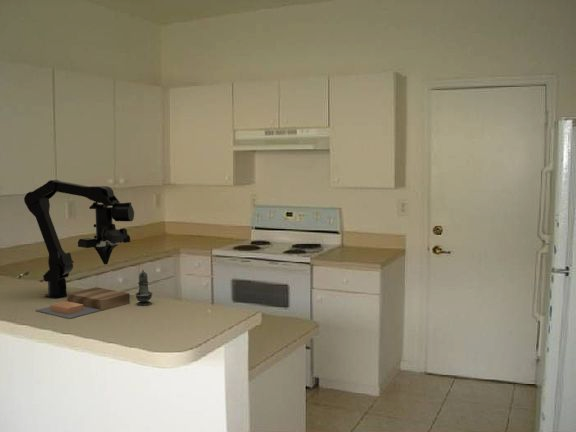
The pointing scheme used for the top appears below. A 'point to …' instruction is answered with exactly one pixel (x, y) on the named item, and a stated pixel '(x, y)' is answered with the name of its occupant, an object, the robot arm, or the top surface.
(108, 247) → the robot arm
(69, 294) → the board
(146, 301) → the dark grey chess piece
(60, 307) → the tile
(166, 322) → the top surface
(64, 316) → the mat
